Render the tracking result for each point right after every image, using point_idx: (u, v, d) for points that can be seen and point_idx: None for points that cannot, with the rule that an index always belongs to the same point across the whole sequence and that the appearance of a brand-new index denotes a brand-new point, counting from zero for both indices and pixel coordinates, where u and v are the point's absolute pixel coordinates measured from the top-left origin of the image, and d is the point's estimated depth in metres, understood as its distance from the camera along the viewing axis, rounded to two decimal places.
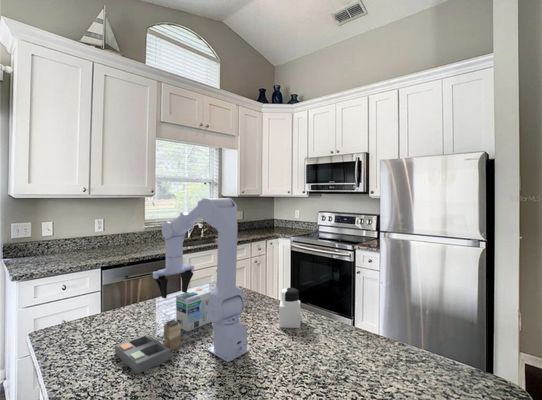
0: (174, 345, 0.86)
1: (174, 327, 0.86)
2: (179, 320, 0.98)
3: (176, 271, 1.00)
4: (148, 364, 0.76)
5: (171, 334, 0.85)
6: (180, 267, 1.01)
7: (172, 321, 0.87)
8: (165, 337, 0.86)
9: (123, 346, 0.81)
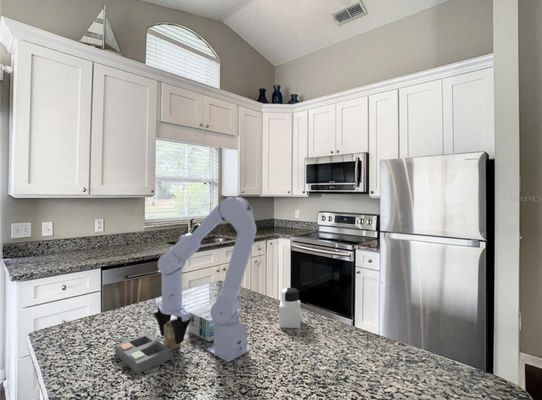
0: (174, 345, 0.86)
1: None
2: (193, 321, 0.94)
3: (161, 311, 0.85)
4: (148, 364, 0.76)
5: (171, 334, 0.85)
6: (165, 308, 0.84)
7: None
8: (165, 337, 0.86)
9: (123, 346, 0.81)
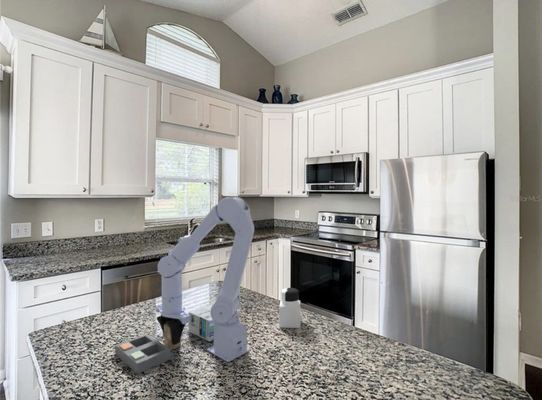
0: (174, 345, 0.86)
1: None
2: (193, 321, 0.94)
3: (161, 314, 0.85)
4: (148, 364, 0.76)
5: None
6: (165, 311, 0.84)
7: None
8: (165, 337, 0.86)
9: (123, 346, 0.81)
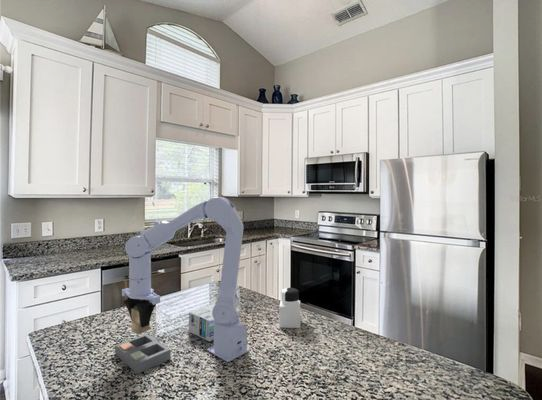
0: (143, 329, 0.83)
1: None
2: (193, 321, 0.94)
3: (129, 296, 0.82)
4: (148, 364, 0.76)
5: None
6: (133, 293, 0.82)
7: None
8: (133, 322, 0.83)
9: (123, 346, 0.81)
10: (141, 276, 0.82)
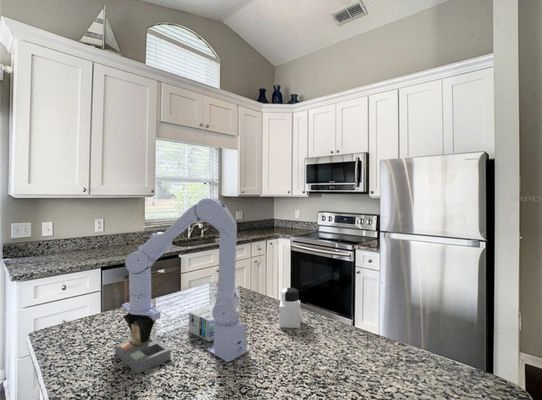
0: (143, 344, 0.83)
1: None
2: (193, 321, 0.94)
3: (129, 311, 0.82)
4: (148, 364, 0.76)
5: None
6: (133, 309, 0.82)
7: None
8: (133, 337, 0.83)
9: (123, 346, 0.81)
10: (141, 292, 0.82)
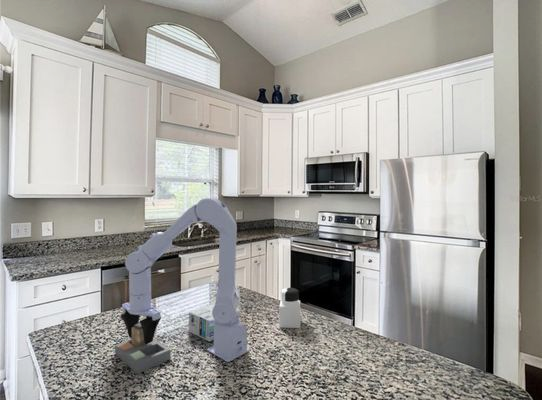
0: None
1: None
2: (193, 321, 0.94)
3: (129, 311, 0.82)
4: (148, 364, 0.76)
5: (140, 336, 0.83)
6: (133, 309, 0.82)
7: None
8: (133, 340, 0.83)
9: (123, 346, 0.81)
10: (141, 292, 0.82)
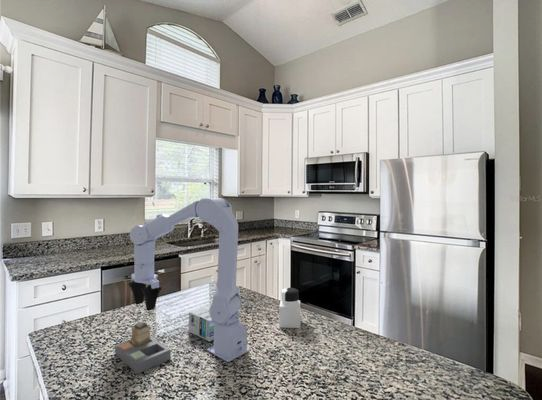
0: None
1: (143, 329, 0.83)
2: (193, 321, 0.94)
3: (134, 280, 0.90)
4: (148, 364, 0.76)
5: (140, 336, 0.83)
6: (137, 277, 0.89)
7: (140, 323, 0.85)
8: (133, 340, 0.83)
9: (123, 346, 0.81)
10: (142, 262, 0.89)
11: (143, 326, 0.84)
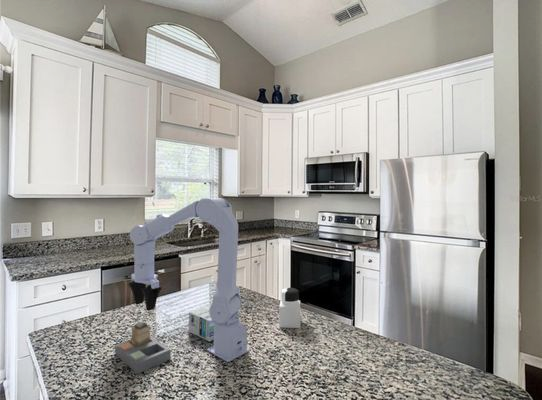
0: None
1: (143, 329, 0.83)
2: (193, 321, 0.94)
3: (134, 280, 0.90)
4: (148, 364, 0.76)
5: (140, 336, 0.83)
6: (137, 277, 0.89)
7: (140, 323, 0.85)
8: (133, 340, 0.83)
9: (123, 346, 0.81)
10: (142, 262, 0.89)
11: (143, 326, 0.84)
